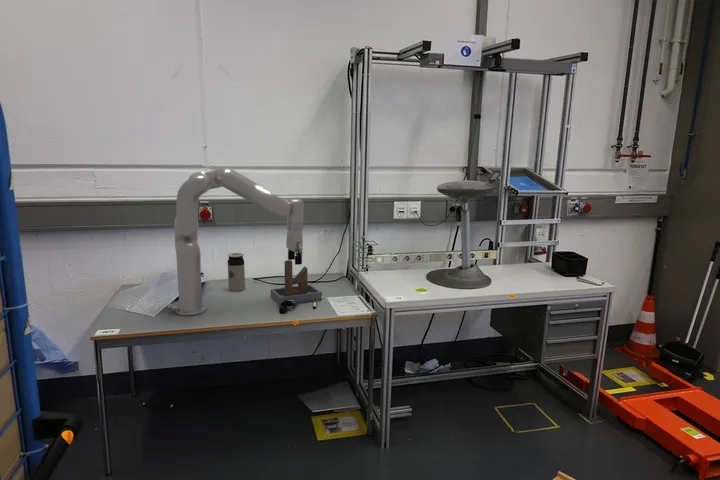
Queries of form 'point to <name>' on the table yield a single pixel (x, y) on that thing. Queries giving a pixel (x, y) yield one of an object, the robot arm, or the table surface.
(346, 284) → the table surface
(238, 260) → the travel mug
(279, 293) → the tray
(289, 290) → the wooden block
